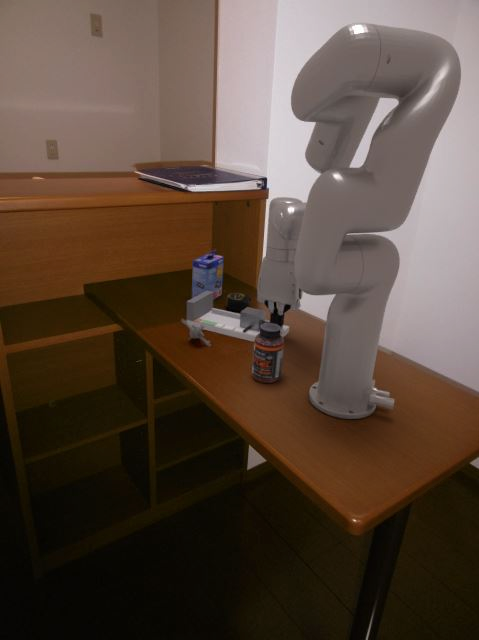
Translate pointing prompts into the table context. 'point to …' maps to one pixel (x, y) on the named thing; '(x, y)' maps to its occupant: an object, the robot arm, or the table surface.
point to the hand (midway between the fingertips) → (276, 327)
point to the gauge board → (219, 318)
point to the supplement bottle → (268, 354)
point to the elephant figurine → (196, 332)
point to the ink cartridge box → (207, 274)
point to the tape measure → (237, 301)
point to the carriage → (252, 319)
